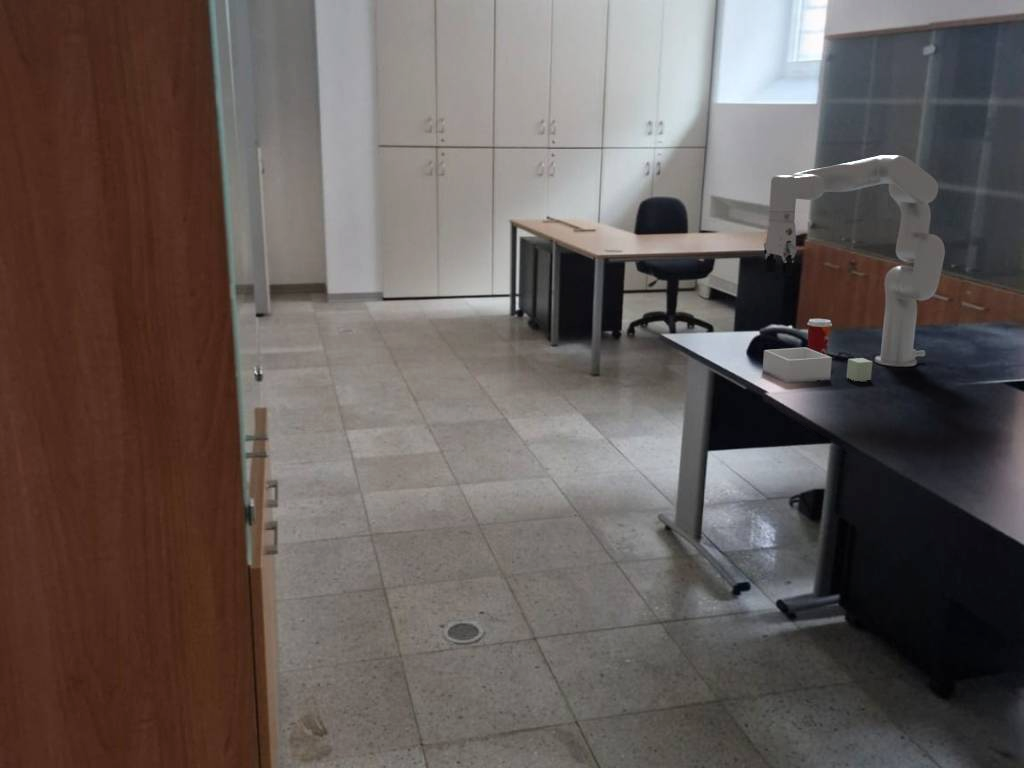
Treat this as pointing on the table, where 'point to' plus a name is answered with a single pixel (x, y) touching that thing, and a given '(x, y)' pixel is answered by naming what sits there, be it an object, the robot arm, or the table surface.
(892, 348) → the robot arm
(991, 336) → the table surface
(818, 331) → the paper cup
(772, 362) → the bin
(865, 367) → the green block
